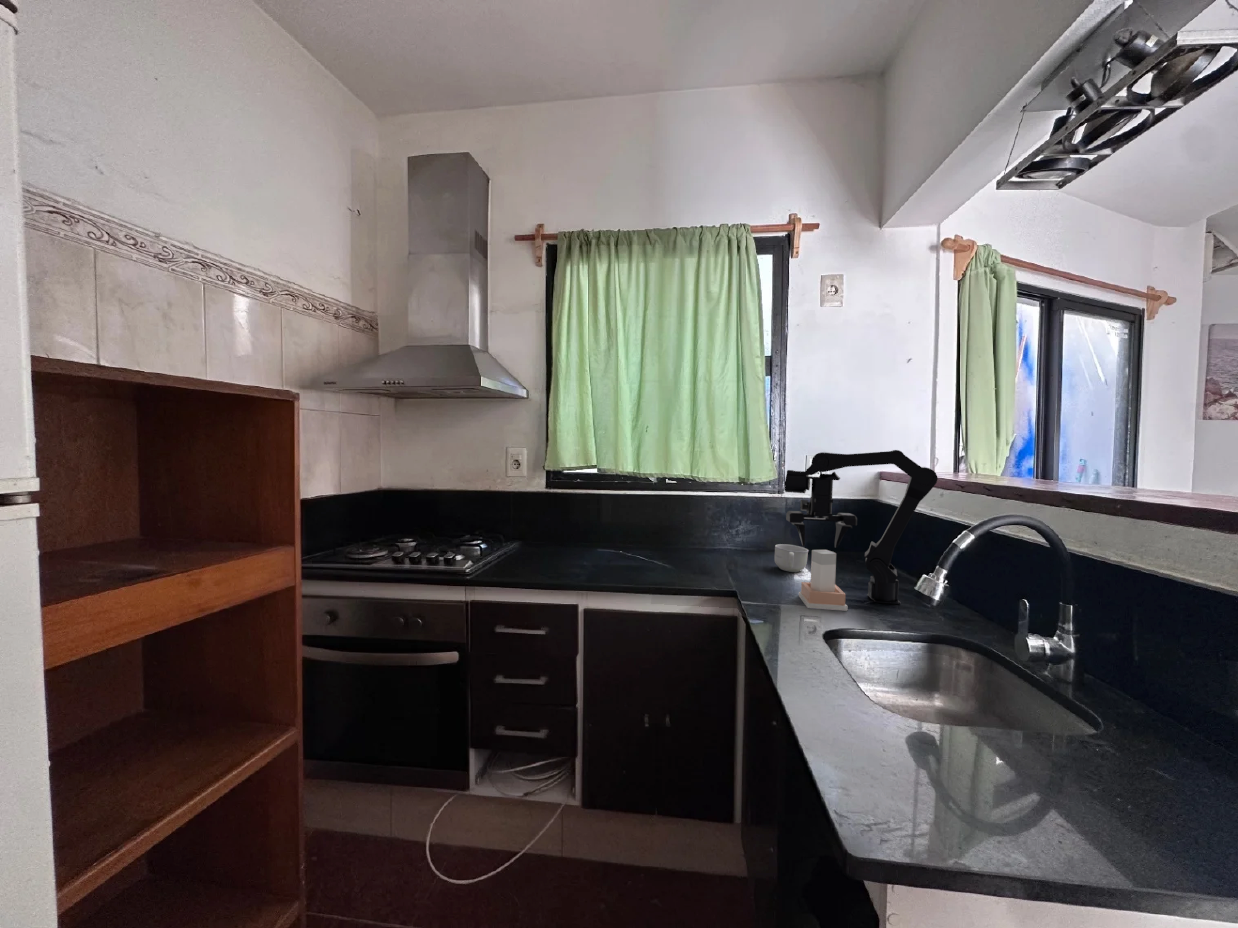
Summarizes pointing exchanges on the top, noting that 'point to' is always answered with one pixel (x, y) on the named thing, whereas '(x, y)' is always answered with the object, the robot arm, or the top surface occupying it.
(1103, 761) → the top surface
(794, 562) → the teacup
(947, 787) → the top surface
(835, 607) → the socket
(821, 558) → the plug
